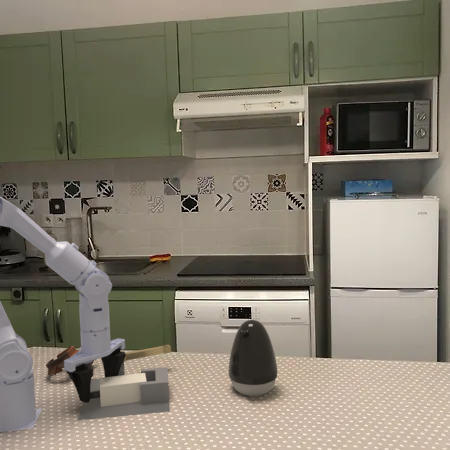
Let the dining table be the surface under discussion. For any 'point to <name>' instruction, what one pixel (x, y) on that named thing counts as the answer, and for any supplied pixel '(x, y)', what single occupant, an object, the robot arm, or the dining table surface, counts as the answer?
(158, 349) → the brass ball-knob lever
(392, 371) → the dining table surface
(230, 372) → the pump dispenser
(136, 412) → the socket
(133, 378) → the plug
